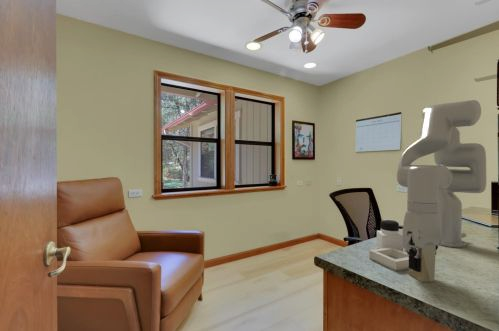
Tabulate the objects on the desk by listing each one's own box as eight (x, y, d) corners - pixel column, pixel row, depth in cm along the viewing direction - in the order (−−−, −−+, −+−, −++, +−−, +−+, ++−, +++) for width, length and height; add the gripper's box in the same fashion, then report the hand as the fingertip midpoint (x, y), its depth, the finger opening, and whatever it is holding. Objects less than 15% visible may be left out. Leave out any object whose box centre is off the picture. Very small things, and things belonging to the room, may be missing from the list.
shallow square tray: (391, 255, 89) (391, 247, 89) (419, 266, 79) (419, 257, 79) (369, 258, 86) (369, 250, 86) (395, 271, 76) (396, 261, 76)
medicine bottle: (403, 255, 89) (403, 223, 88) (382, 254, 90) (382, 222, 90) (395, 249, 96) (396, 219, 95) (376, 247, 97) (376, 218, 97)
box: (408, 274, 74) (408, 238, 74) (421, 273, 74) (421, 237, 74) (421, 282, 69) (422, 244, 68) (435, 282, 69) (436, 243, 69)
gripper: (429, 204, 78) (428, 260, 78) (389, 207, 72) (388, 267, 72) (455, 208, 70) (455, 269, 71) (414, 212, 65) (413, 278, 65)
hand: (421, 268), depth 71 cm, fingers closed on box, 5 cm apart
